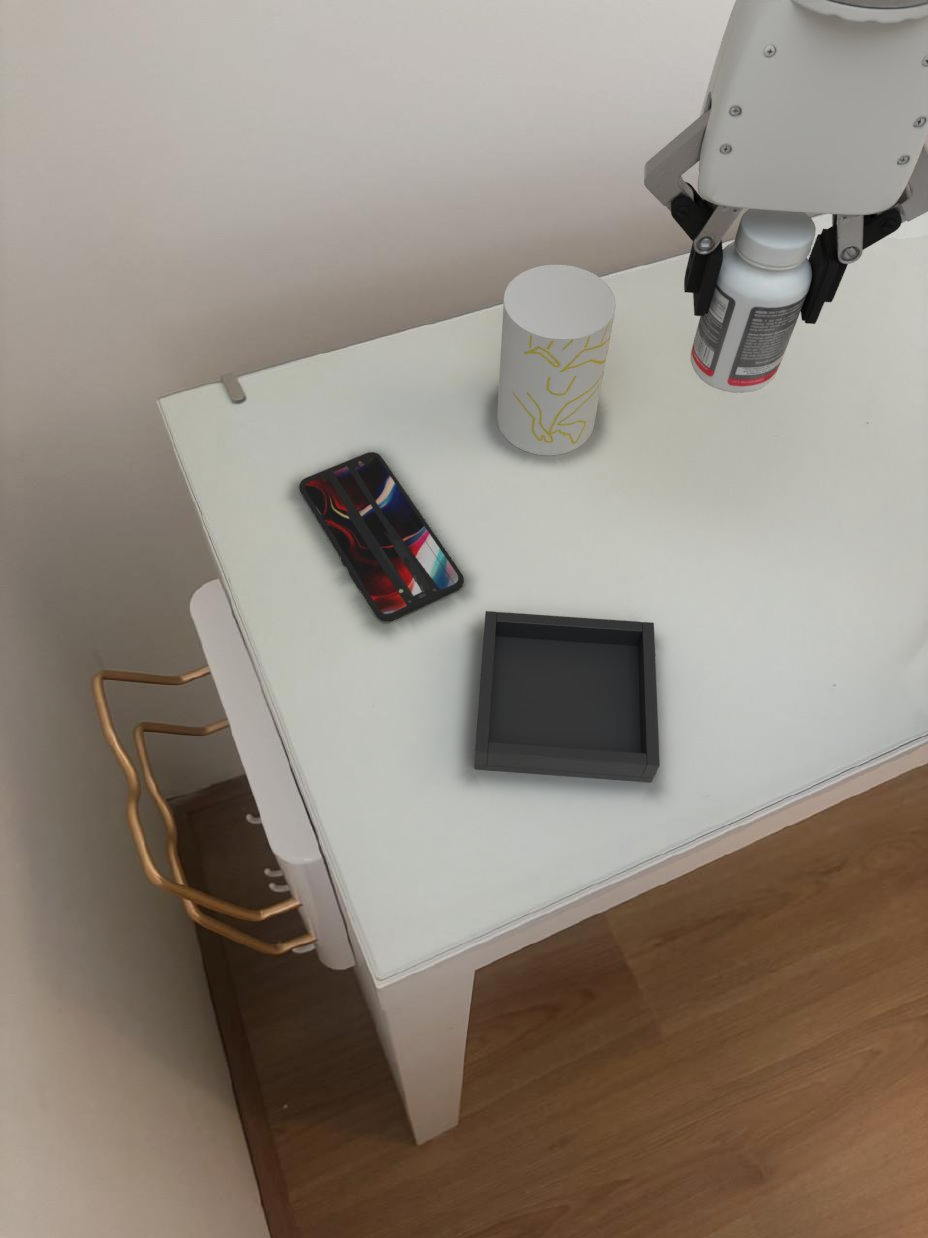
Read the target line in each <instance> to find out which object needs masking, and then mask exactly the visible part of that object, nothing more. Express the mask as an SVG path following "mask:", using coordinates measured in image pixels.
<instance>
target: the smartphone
mask: <svg viewBox="0 0 928 1238" xmlns="http://www.w3.org/2000/svg"><path fill="white" fill-rule="evenodd" d="M298 488H299V492H300V494H301V496H302V497H303V499H304V500H305V502H306V504H307V505H308V507H309V509H310V510H311V512H312V514H313V515H314V517H315V519H316V521H317V522H318V523H319V525H320V527H321V528H322V530H323V531H324V533H325V535H326V537H327V539H328V540H329V541H330V543H331V545H332V546H333V549H334V550H335V551H336V553H337V555H338V556H339V558H340V562H341V563H342V565H343V566H344V568H346V570H347V571H348V575H349V577H350V578H351V580H352V581H353V584H354V585H355V587H356V588H357V590H358V591H360V592H361V595H362V596H363V597H364V599H365V600H366V602H367V604H368V606H369V607H370V609H371V610H372V612H373V613H374V615H375V617H376V618H377V619H378V620H379V621H381V622H383V623H390V622H393V621H395V620H398V619H399V618H402V617H404V616H406V615H408V614H411V613H412V612H415V611H417V610H419V609H421V608H423V607H425V606H428V605H430V604H432V603H434V602H436V601H439V600H440V599H442V598H445V597H447V596H449V595H451V594H453V593H456V592H458V591H459V590H461V589H462V588H463V586H464V583H465V578H464V575H463V573H462V572H461V571H460V569H459V567H458V566H457V564H456V563H455V562H454V559H452V557H451V555H450V554H449V553H448V551H447V550H446V548H445V547H444V546H443V544H442V543H441V541H440V540H439V538H438V537H437V536H436V534H435V532H434V531H433V529H431V527H430V525H429V523H428V522H427V521H426V520H425V518H424V517H423V515H422V514H421V512H420V511H419V509H418V508H417V507H416V505H415V504H414V502H413V501H412V499H411V497H410V496H409V494H408V493H407V491H406V490H405V489H404V487H403V486H402V484H401V483H400V482H399V480H398V479H397V478H396V476H395V474H394V473H393V471H392V470H391V468H390V467H389V466H388V464H387V463H386V461H385V460H384V458H383V457H382V456H381V454H379V453H377V452H374V451H370V452H366V453H363V454H360V455H358V456H356V457H353V458H350V459H349V460H346V461H344V462H341V463H339V464H336V465H333V466H332V467H329V468H327V469H324V470H322V471H319V472H316V473H315V474H312V475H309V476H307V477H305V478H303V479H302V480H301V481H300V483H299V487H298Z"/></svg>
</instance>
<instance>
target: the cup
mask: <svg viewBox="0 0 928 1238" xmlns="http://www.w3.org/2000/svg"><path fill="white" fill-rule="evenodd" d="M502 307H503V308H502V322H501V323H502V325H501V340H500V342H501V343H500V346H501V347H500V360H499V376H498V377H499V378H498V393H497V394H498V395H497V398H498V399H497V411H496V412H497V414H496V421H497V422H496V423H497V426H498V428H499V431H500V432H501V434H502V435H503V437H504V438H505V440H507V441H508V443H510V444H511V445H513V446H514V447H516V448H518V449H519V450H522V451H523V452H526V453H530V454H533V455H538V456H558V455H559V456H560V455H563V454H567V453H570V452H572V451H574V450H577V449H579V448H580V447H581V446H583V445H584V444H585V443H586V442H587V441H588V440H589V438H590V437H591V436H592V433H593V432H594V428H595V423H596V416H597V412H598V406H599V400H600V396H601V390H602V385H603V379H604V373H605V368H606V362H607V357H608V351H609V347H610V341H611V335H612V331H613V326H614V325H613V324H614V319H615V313H616V308H617V301H616V296H615V294H614V292H613V290H612V288H611V287H610V285H608V283H606V281H605V280H603V279H602V278H601V277H600V276H598V275H596V274H595V273H593V272H592V271H589V270H588V269H587V270H586V269H584V268H581V267H578V266H573V265H567V264H545V265H539V266H536V267H532V268H529V269H527V270H525V271H523V272H521V273H519V274H517V275H516V276H514V278H513V279H512V280H511V281H510V282H509V283H508V285H507V286H506V288H505V291H504V293H503V305H502Z"/></svg>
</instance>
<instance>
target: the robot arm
mask: <svg viewBox="0 0 928 1238" xmlns="http://www.w3.org/2000/svg"><path fill="white" fill-rule="evenodd" d="M720 41H721V42H720V44H719V48H718V51H717V54H716V57H715V60H714V65H713V68H712V71H711V75H710V77H709V81H708V85H707V89H706V92H705V96H704V100H703V102H702V108H701V110H700V114H699V117H698V118H697V119H695V120H694V121H693V122H692V123H691V124H689V125H688V126H687V127H686V128H685V129H684V130H682V131H681V132H680V133H679V134H678V135H676V136H675V137H674V138H673V139H671V141H670V142H668V143H667V144H666V145H665V146H663V148H661V149H660V150H659V151H658V152H656V154H654V155H653V156H652V157H651V158H650V159H649V160H647V161H646V163H645V164H644V166H643V185H644V186H645V188H646V189H647V190H648V192H650V193H651V194H652V195H653V197H654V198H656V200H657V201H658V202H659V203H660V204H661V205H662V206H663V207H666V208H667V210H669V211H670V215H671V217H672V218H673V219H674V221H675V222H676V223H677V225H678V226H679V227H680V228H681V229H682V230H683V232H684V233H685V234H686V235H687V236H688V238H689V239H690V240H691V241H692V245H691V247H690V251H689V252H690V253H689V256H688V260H687V264H686V267H685V271H684V279H683V291H684V293H689V294H692V295H693V296H692V298H693V301H692V302H693V316H695V317H700V316H704V315H705V314H708V312H709V308H710V305H711V301H712V297H713V294H714V290H715V287H716V283H717V280H718V276H719V273H720V269H721V266H722V262H723V249H724V248H723V239H724V237H725V236H726V234H727V233H728V231H729V230H730V228H731V227H732V225H733V224H734V222H735V221H736V219H737V218H738V216H739V215H740V213H742V211H743V210H745V209H746V210H748V209H759V210H773V211H788V212H804V213H806V214H821V215H822V214H823V215H831V226H830V227H828V228H822V230H821V232H820V233H819V234H817V236H816V238H815V241H814V242H813V246H812V248H811V251H810V253H809V257H808V258H807V259H808V261H809V263H810V265H811V269H812V281H811V284H810V288H809V291H808V293H807V296H806V298H805V301H804V304H803V306H802V309H801V311H800V317H801V322H802V321H803V322H804V324H809V325H816V323H817V321H818V319H819V317H820V314H821V311H822V309H823V307H824V305H825V303H832V302H833V300H834V299H835V296H836V294H837V291H838V289H839V287H840V285H841V282H842V280H843V277H844V274H845V272H846V270H847V268H848V265H850V264H854V263H855V262H857V261H859V260H860V259H861V257H862V256H863V251H864V250H866V249H868V248H870V247H871V246H872V245H874V244H876V243H878V242H879V241H881V240H883V239H884V238H886V237H889V236H890V235H892V234H893V233H895V232H896V231H898V230H899V228H900V227H901V226H902V224H903V223H905V222H908V223H909V222H911V221H912V220H914V219H916V218H919V217H920V216H922V215H924V214H926V213H927V212H928V148H927V145H926V140H927V137H928V0H735V2H734V4H733V7H732V9H731V11H730V14H729V18H728V20H727V23H726V26H725V30H724V33H723V35H722V39H721V40H720ZM697 163H698V179H697V190H696V189H695V187H694V186H693V185H692V184H691V183H690V182H688V181H685V180H684V179H683V175H684V174H685V173H686V172H687V171H689V170H690V169H691V168H692V167H694V166H695V165H696V164H697Z"/></svg>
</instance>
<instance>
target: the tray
mask: <svg viewBox="0 0 928 1238" xmlns="http://www.w3.org/2000/svg"><path fill="white" fill-rule="evenodd" d="M483 627H484V628H483V641H482V652H481V666H480V680H479V694H478V705H477V721H476V733H475V747H474V764H473V769H474V770H480V771H494V772H505V773H506V772H507V773H520V774H533V775H545V776H546V775H547V776H558V777H559V776H560V777H572V778H573V777H574V778H586V779H600V780H615V781H627V782H639V783H640V782H641V783H653V780H654V778H655V776H656V774H657V772H658V770H659V769H660V765H661V763H660V741H659V740H660V738H659V716H658V715H659V714H658V689H657V666H656V641H655V639H656V638H655V623H654V622H650V621H649V622H648V621H636V620H635V621H634V620H623V619H622V620H619V619H605V618H591V617H579V616H576V617H575V616H565V615H564V616H563V615H562V616H560V615H548V614H534V613H522V612H521V613H519V612H504V611H490V610H486V611H485V613H484V626H483Z"/></svg>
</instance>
